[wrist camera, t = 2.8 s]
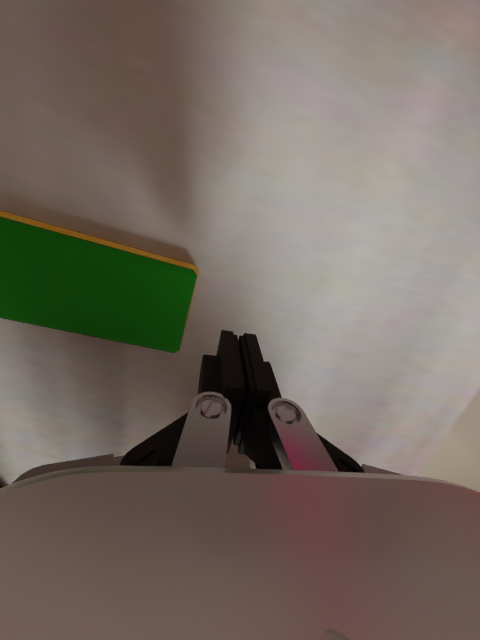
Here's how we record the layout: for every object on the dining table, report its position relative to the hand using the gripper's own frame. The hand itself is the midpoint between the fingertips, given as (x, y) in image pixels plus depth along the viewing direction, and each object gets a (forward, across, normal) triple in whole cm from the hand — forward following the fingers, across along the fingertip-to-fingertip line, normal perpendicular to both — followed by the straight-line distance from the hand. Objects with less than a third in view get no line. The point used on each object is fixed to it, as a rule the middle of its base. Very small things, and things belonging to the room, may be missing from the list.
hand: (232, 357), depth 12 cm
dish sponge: (+10, +10, +1) cm, 14 cm away
